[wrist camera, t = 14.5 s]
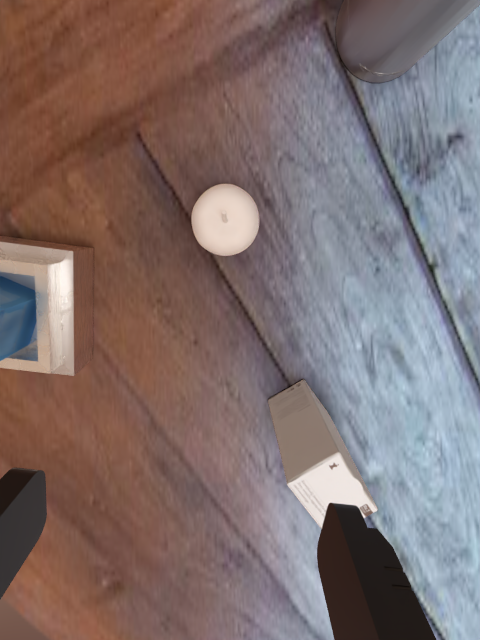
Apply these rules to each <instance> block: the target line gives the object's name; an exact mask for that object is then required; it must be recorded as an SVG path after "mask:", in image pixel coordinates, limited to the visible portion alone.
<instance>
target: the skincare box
mask: <svg viewBox="0 0 480 640" xmlns="http://www.w3.org/2000/svg"><path fill="white" fill-rule="evenodd" d="M268 404H269V408H270V412H271V416H272V420H273V425H274V429H275V433H276V437H277V441H278V446H279V450H280V454H281V458H282V462H283V467H284V471H285V476H286V480H287V485H288V486H289V488H290V489H291V490H292V492H293V493H294V494H295V495H296V497H297V498H298V499H299V501H300V502H301V503H302V505H303V506H304V507H305V509H306V510H307V511H308V512H309V514H310V515H311V516H312V517H313V519H314V520H315V521H316V522H317V524H318V525H319V526H320V527H321V529H322V526H323V522H324V518H325V514H326V510H327V507H328V504H329V503H338V504H347V505H356V506H357V507H358V508H359V509H360V511H361V513H362V516H363V518H365V517H367V516H368V515H370V514H372V513H374V512H376V511H377V510H378V508H377V506H376V505H375V503H374V501H373V499H372V497H371V495H370V493H369V491H368V489H367V487H366V485H365V483H364V481H363V479H362V477H361V475H360V473H359V471H358V470H357V468H356V466H355V464H354V462H353V460H352V458H351V456H350V454H349V452H348V450H347V448H346V446H345V444H344V442H343V440H342V438H341V436H340V435H339V433H338V431H337V429H336V427H335V425H334V423H333V421H332V419H331V417H330V415H329V414H328V412H327V411H326V409H325V408H324V406H323V405H322V404H321V402H320V401H319V399H318V398H317V397H316V395H315V394H314V392H313V391H312V390H311V389H310V387H309V386H308V384H307V383H306V381H305V380H304V379H303V380H301V381H299V382H298V383H296V384H295V385H293V386H291V387H289V388H288V389H286V390H284V391H282V392H280V393H279V394H277V395H275V396H273V397H272V398H270V399H269V400H268Z"/></svg>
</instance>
